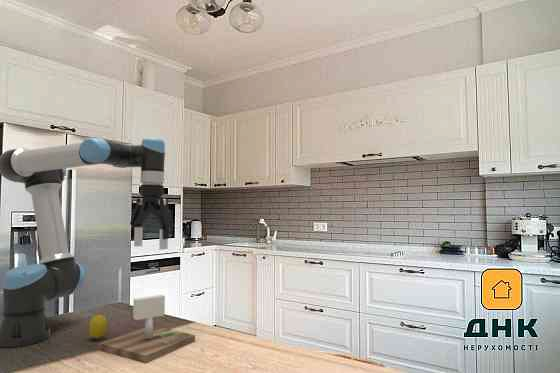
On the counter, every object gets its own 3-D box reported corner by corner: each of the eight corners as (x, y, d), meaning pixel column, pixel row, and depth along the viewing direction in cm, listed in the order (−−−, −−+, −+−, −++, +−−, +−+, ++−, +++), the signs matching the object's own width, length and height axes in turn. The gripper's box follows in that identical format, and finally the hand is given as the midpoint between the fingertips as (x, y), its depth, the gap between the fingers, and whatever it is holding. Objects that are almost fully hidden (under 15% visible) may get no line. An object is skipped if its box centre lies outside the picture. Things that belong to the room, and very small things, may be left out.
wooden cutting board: (99, 350, 117) (99, 342, 117) (150, 331, 134) (150, 325, 134) (145, 363, 107) (146, 355, 107) (195, 341, 125) (195, 334, 125)
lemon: (99, 342, 123) (100, 317, 124) (84, 341, 124) (85, 316, 125) (110, 337, 129) (111, 312, 129) (96, 335, 130) (96, 311, 130)
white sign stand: (135, 342, 117) (135, 300, 118) (132, 339, 119) (133, 298, 120) (177, 333, 125) (178, 294, 126) (175, 331, 127) (175, 292, 128)
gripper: (185, 184, 127) (184, 249, 126) (139, 185, 141) (137, 244, 140) (167, 183, 121) (165, 251, 120) (120, 184, 135) (118, 245, 134)
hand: (150, 247), depth 130 cm, fingers open, 13 cm apart
